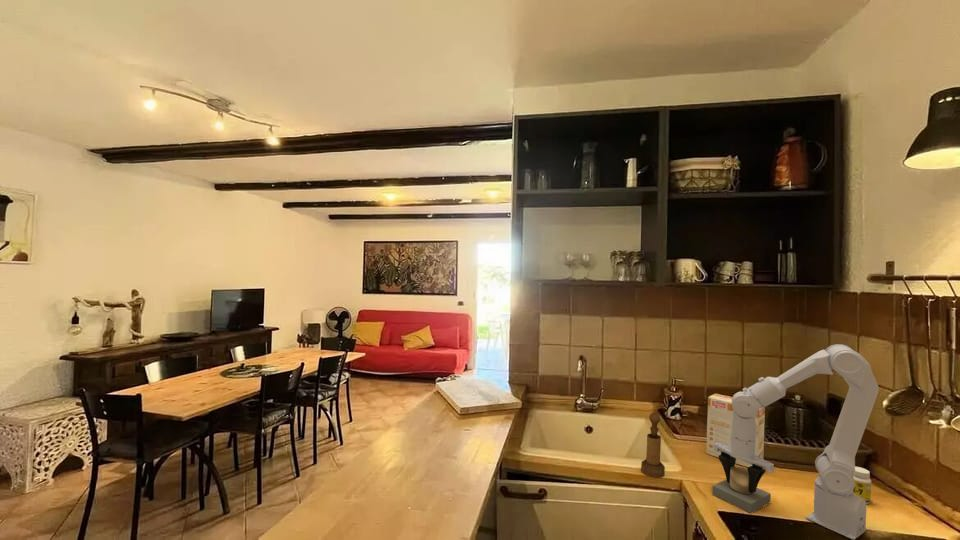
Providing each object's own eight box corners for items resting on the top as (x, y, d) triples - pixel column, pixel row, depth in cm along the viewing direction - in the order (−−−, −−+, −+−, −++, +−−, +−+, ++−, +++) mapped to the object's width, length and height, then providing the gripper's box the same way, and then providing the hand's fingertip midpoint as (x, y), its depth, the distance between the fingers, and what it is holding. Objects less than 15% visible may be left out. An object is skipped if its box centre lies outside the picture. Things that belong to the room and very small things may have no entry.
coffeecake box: (763, 464, 134) (765, 404, 134) (757, 471, 129) (759, 408, 129) (713, 448, 145) (715, 392, 145) (705, 454, 141) (707, 396, 140)
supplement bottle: (842, 496, 116) (844, 466, 116) (853, 493, 118) (854, 464, 118) (863, 506, 112) (865, 475, 111) (874, 503, 113) (875, 472, 113)
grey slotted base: (770, 502, 112) (770, 493, 112) (750, 513, 107) (751, 503, 107) (732, 485, 120) (732, 476, 120) (712, 494, 115) (712, 485, 115)
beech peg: (756, 500, 113) (757, 473, 113) (746, 506, 110) (747, 478, 110) (735, 491, 117) (736, 464, 117) (725, 496, 115) (726, 469, 114)
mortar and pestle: (650, 478, 123) (652, 418, 123) (636, 468, 129) (638, 410, 129) (669, 476, 125) (671, 416, 125) (654, 465, 131) (656, 409, 131)
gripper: (780, 444, 109) (778, 496, 109) (724, 425, 122) (722, 471, 122) (766, 450, 106) (764, 503, 106) (710, 429, 118) (708, 477, 118)
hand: (741, 486), depth 114 cm, fingers closed on beech peg, 5 cm apart
